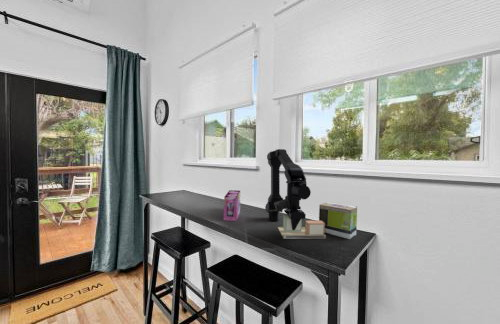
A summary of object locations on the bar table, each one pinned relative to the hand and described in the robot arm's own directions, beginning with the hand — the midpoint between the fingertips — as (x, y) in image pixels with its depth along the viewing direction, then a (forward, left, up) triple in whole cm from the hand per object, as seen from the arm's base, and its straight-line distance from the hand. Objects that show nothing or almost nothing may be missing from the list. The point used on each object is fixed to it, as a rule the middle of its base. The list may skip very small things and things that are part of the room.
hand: (292, 228), depth 101 cm
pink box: (0, +11, -4) cm, 11 cm away
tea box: (-5, +24, -5) cm, 25 cm away
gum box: (-37, -28, -5) cm, 47 cm away
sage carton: (0, 0, -1) cm, 1 cm away
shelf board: (-4, +5, -5) cm, 8 cm away
